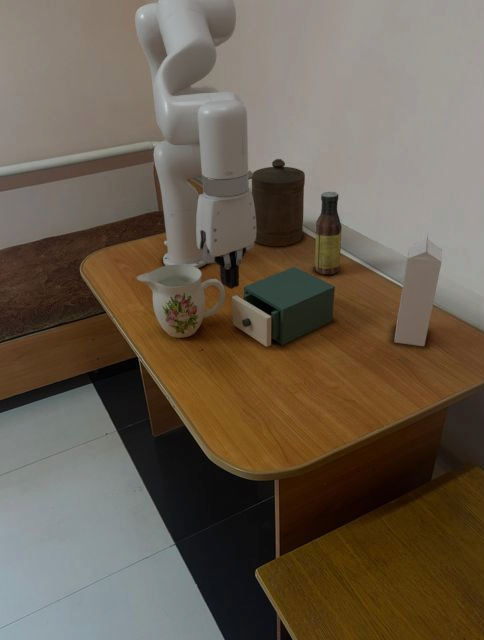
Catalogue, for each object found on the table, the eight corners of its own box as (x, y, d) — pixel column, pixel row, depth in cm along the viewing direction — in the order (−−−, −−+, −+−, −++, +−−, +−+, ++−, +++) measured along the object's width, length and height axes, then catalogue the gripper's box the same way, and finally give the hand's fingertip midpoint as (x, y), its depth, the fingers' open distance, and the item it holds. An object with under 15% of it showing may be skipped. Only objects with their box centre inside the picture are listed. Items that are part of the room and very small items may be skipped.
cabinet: (282, 345, 111) (283, 309, 106) (244, 320, 119) (243, 286, 114) (332, 321, 118) (335, 286, 113) (293, 299, 126) (294, 266, 121)
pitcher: (232, 335, 114) (229, 277, 107) (147, 348, 111) (139, 290, 104) (221, 310, 123) (218, 255, 115) (142, 322, 120) (134, 266, 112)
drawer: (262, 349, 108) (262, 320, 104) (228, 326, 116) (227, 298, 112) (314, 324, 115) (316, 296, 111) (279, 304, 123) (280, 277, 119)
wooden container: (312, 233, 158) (316, 156, 145) (284, 251, 148) (285, 171, 136) (270, 223, 166) (270, 149, 153) (241, 239, 156) (239, 162, 144)
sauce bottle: (344, 271, 137) (351, 194, 126) (325, 278, 134) (331, 200, 123) (326, 262, 142) (331, 188, 130) (308, 269, 139) (312, 193, 127)
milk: (393, 342, 110) (409, 242, 98) (395, 327, 115) (411, 229, 102) (425, 347, 108) (444, 245, 96) (425, 331, 113) (444, 232, 100)
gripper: (247, 170, 94) (249, 266, 104) (174, 189, 86) (184, 290, 97) (275, 179, 88) (274, 279, 99) (200, 200, 81) (208, 306, 92)
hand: (230, 284), depth 98 cm, fingers closed
